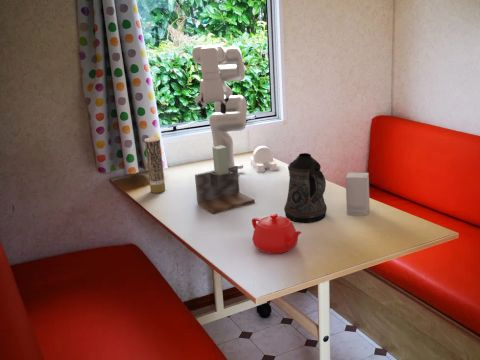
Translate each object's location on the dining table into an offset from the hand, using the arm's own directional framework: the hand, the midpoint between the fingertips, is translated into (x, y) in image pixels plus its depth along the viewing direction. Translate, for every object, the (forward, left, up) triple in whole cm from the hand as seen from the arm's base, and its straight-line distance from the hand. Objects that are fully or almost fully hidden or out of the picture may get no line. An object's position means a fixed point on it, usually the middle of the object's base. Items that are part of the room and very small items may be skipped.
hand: (213, 115), depth 246 cm
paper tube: (+24, -16, -34) cm, 45 cm away
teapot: (+16, +70, -35) cm, 80 cm away
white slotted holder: (-34, -16, -35) cm, 51 cm away
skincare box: (-27, +63, -34) cm, 77 cm away
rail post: (+8, +18, -26) cm, 32 cm away
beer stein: (-10, +54, -34) cm, 65 cm away
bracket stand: (+8, +20, -34) cm, 41 cm away
